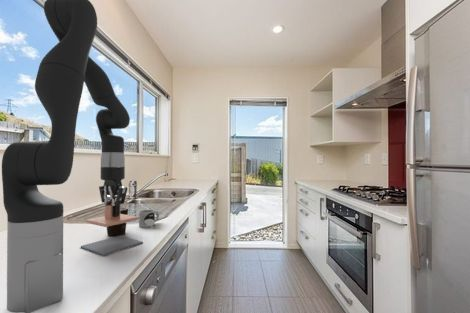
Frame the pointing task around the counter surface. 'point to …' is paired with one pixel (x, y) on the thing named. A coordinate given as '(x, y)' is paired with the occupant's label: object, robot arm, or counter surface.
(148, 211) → the mug
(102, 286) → the counter surface
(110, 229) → the coffee mug
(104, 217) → the lid
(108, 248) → the mat
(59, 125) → the robot arm
